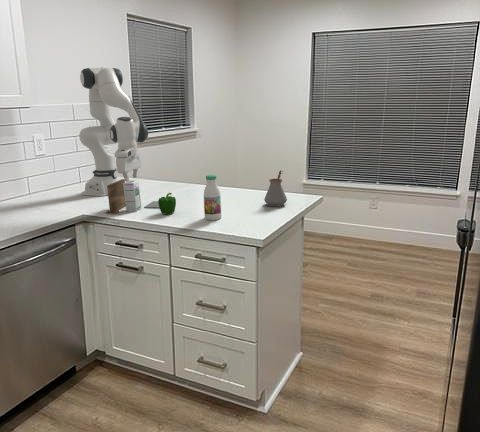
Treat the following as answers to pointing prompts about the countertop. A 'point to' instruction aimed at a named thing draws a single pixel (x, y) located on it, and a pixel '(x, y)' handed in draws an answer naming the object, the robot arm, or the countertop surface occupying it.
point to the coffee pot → (275, 193)
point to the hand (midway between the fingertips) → (131, 179)
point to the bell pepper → (167, 204)
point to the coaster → (152, 205)
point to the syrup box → (132, 195)
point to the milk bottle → (212, 199)
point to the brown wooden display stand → (116, 197)
